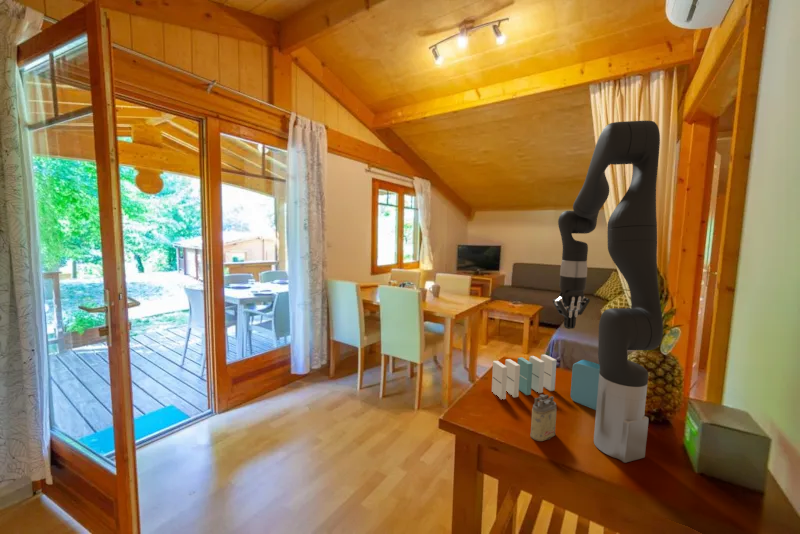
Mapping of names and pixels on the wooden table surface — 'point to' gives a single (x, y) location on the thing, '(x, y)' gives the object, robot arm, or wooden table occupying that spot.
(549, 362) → the domino
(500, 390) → the domino
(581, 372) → the blue flat block
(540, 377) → the domino
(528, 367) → the domino
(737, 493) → the wooden table surface
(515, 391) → the domino
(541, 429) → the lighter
